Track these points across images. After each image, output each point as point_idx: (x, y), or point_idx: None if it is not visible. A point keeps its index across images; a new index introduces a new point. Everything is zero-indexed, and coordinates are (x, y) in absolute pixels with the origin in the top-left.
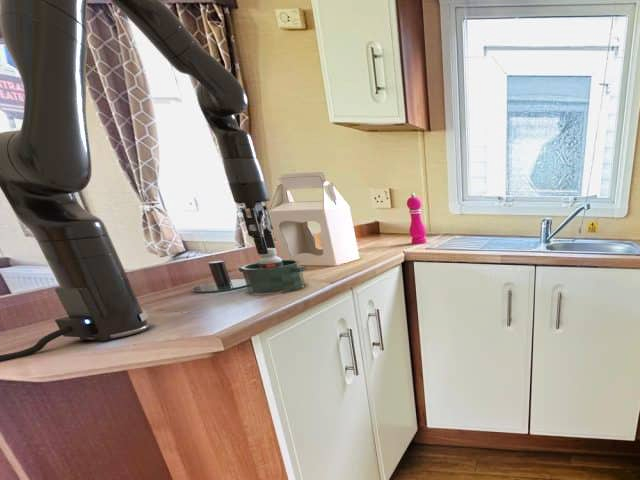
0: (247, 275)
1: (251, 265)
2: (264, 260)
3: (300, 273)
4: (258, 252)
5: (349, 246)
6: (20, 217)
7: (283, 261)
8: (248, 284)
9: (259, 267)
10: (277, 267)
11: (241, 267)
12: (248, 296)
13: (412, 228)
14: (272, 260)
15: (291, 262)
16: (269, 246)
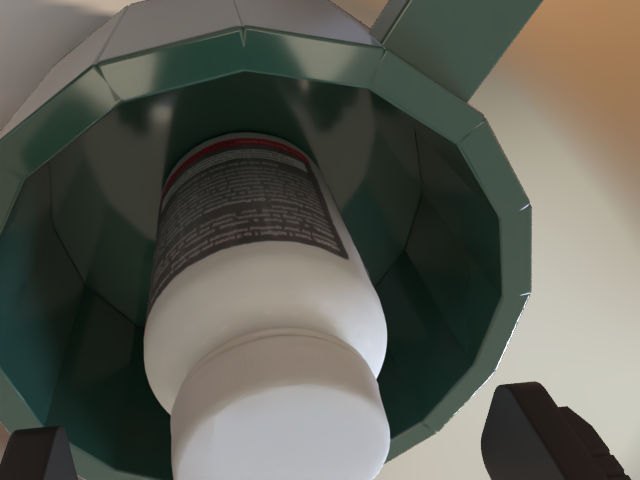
0: (23, 111)
1: (399, 106)
2: (154, 356)
3: None
4: (11, 449)
5: None
6: None
7: (467, 359)
8: (78, 52)
9: (448, 148)
10: (11, 432)
11: (215, 33)
12: (14, 17)
13: None
14: (168, 410)
15: (409, 412)
16: (508, 438)
